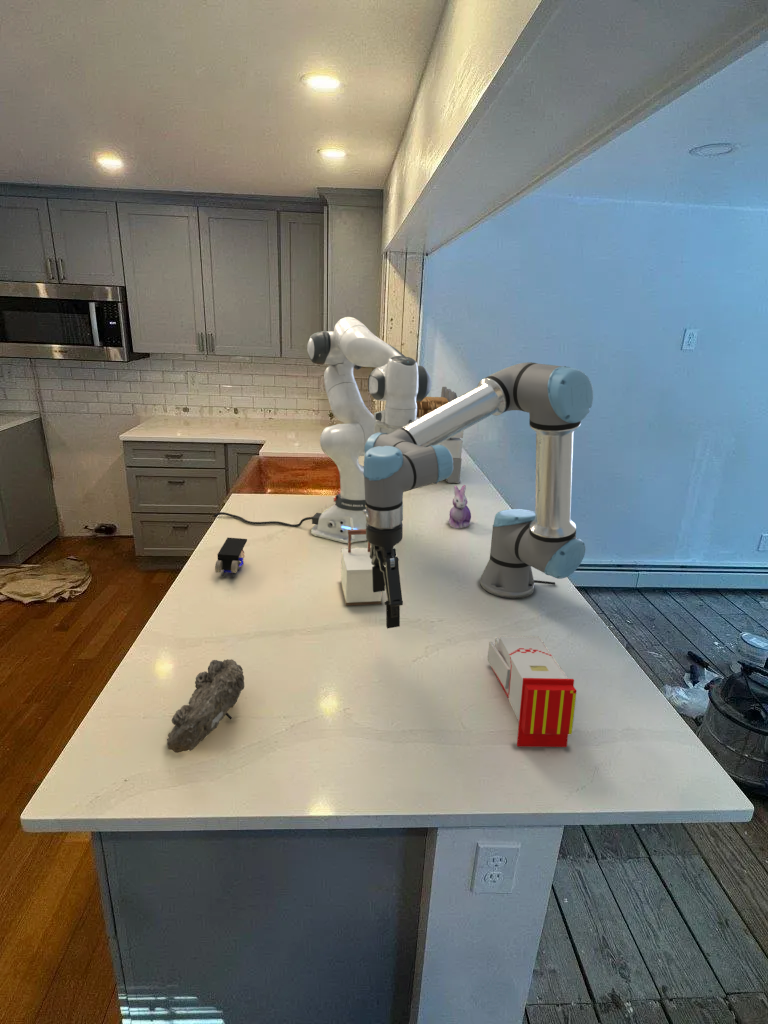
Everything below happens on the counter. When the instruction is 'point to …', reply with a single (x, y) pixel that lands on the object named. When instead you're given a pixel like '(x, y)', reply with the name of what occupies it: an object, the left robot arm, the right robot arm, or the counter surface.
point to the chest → (358, 588)
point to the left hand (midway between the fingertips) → (398, 466)
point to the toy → (534, 690)
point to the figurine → (459, 509)
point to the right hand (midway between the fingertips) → (385, 607)
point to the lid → (357, 555)
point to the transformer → (452, 443)
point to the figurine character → (230, 556)
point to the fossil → (206, 705)
